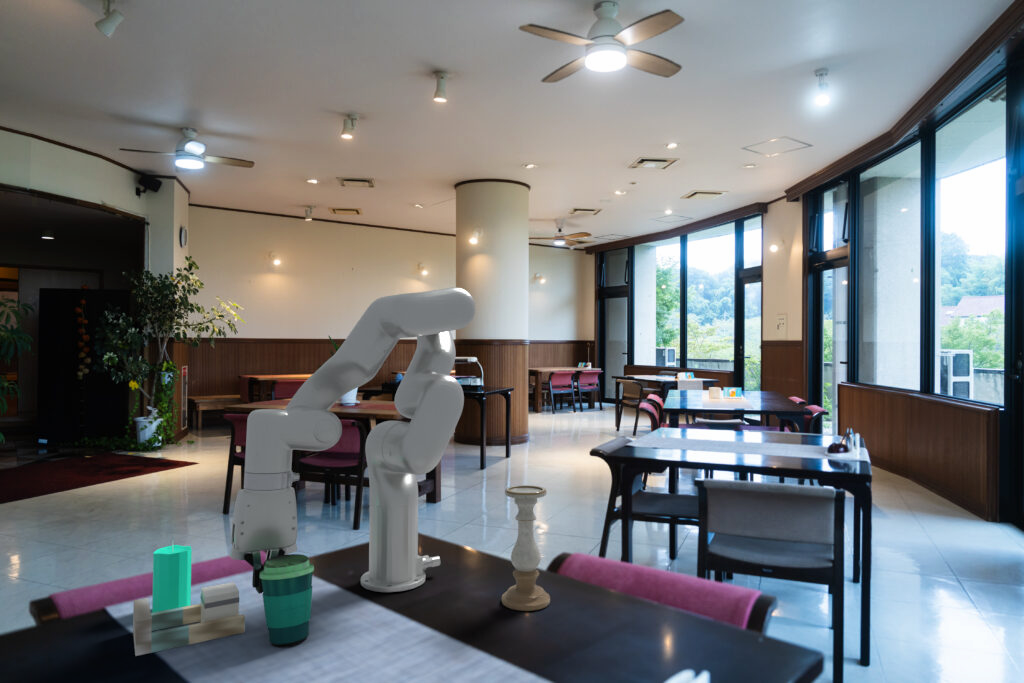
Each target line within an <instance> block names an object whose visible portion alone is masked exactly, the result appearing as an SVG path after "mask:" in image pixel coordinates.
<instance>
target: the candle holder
mask: <svg viewBox="0 0 1024 683" xmlns="http://www.w3.org/2000/svg"><path fill="white" fill-rule="evenodd" d="M547 492H548V491H547V488H546V487H543V486H538V485H529V484H528V485H526V484H525V485H524V484H523V485H520V484H519V485H514V486H509V487H506V488H505V491H504V495H505V496H506V497H509V498H513V500H514V501H513V502H514V504H516V506H517V508H518V512H517V514H516V515H515V517H514V519H515V520H516V521H517V523H518V524H517V525H518V526H517V537H516V541H515V543H514V546H513V548H512V549H511V550H512V551H511V554H510V561H511V564H512V565H513V567H514V568H515V569H514V570H513V571H512V576H513V577H514V579H515V581H516V582H515V584H514V585H511V586H509V588H508V589H507V591H505V592H504V593H503V594H502V596H501V603H502V605H503V606H505V607H506V608H508V609H510V610H515V611H520V612H521V611H522V612H523V611H524V612H530V611H532V612H533V611H538V610H542V609H544V608H547V607H548V606H549V605H550V603H551V596H550V594H549V593H548V592H547V591H545V590H544V588H543V587H542V586H540V585H537V584H536V581H537V578H538V577H539V575H540V572H539V570H537V568H538V566H539V565H540V564H541V560H542V559H541V558H542V556H541V552H540V548H539V547H538V545H537V541H536V539H535V532H534V531H535V530H534V522H535V520H537V516H536V514H535V513H534V508H535V506H536V504H537V503H538V499H539V498H543V497H545V496H547Z"/></svg>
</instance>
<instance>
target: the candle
mask: <svg viewBox="0 0 1024 683" xmlns="http://www.w3.org/2000/svg"><path fill="white" fill-rule="evenodd" d="M192 551H193V550H192V546H191V545H179V544H174V540H172V545H168V546H164V547H161V548H158V549H156V550H155V551H153V554H152V557H153V559H152V561H153V562H152V602H151V603H152V605H151V608H152V609H151V613H154V612H159V611H164V610H170V609H175V608H180V607H186V606H191V605H192V604H191V601H192V597H191V596H192Z"/></svg>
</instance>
